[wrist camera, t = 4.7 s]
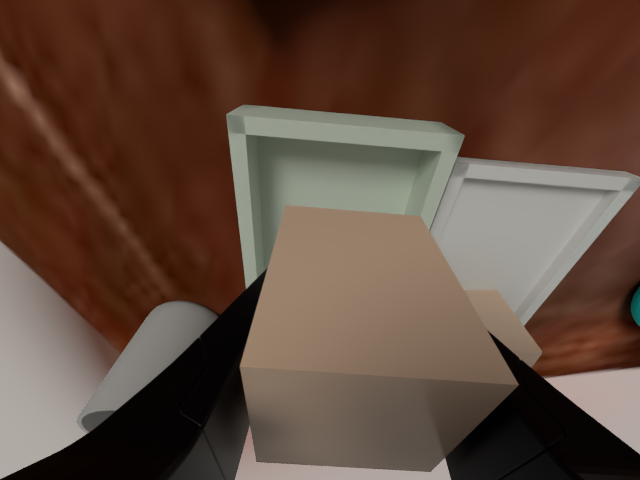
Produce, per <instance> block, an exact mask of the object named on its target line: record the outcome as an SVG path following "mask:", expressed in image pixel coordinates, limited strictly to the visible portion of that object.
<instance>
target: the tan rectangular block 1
mask: <svg viewBox="0 0 640 480" xmlns="http://www.w3.org/2000/svg"><path fill="white" fill-rule="evenodd" d="M240 371H241V376H242V382H243V388H244V393H245V399H246V405H247V410H248V416H249V422H250V427H251V433H252V439H253V444H254V450H255V455H256V461H257V462H267V463H286V464H301V465H319V466H337V467H355V468H372V469H389V470H406V471H424V472H431V471H432V470H433V469H434V467H436V466H437V465H438V464H439V463H440V462H441V461H442V460H443V459H444V458H445V457H446V456H447V455H448V454H449V453H450V452H451V451H452V450H453V449H454V448H455V447H456V446H457V445H458V444H459V443H460V442H461V441H462V440H463V439H464V438H465V437H466V436H467V435H468V434H469V433H471V432H472V431H473V430H474V429H475V428H476V427H477V426H478V425H479V424H480V423H481V422H482V421H483V420H484V419H485V418H486V417H487V416H488V415H489V414H490V413H491V412H492V411H493V410H494V409H495V408H496V407H497V406H498V405H499V404H500V403H501V402H502V401H503V400H504V399H505V398H506V397H507V396H508V395H509V394H510V393H511V392H512V391H513V390H514V389H515V388H516V387H517V386H518V385H519V384H518V382H517V381H516V379H515V377H514V376H513V374H512V372H511V370H510V369H509V367H508V365H507V364H506V362H505V360H504V358H503V357H502V355H501V353H500V352H499V350H498V348H497V346H496V345H495V343H494V341H493V340H492V338H491V336H490V334H489V333H488V331H487V329H486V327H485V326H484V324H483V322H482V321H481V319H480V317H479V315H478V314H477V312H476V310H475V309H474V307H473V305H472V303H471V302H470V300H469V298H468V297H467V295H466V293H465V291H464V290H463V288H462V286H461V285H460V283H459V281H458V279H457V278H456V276H455V274H454V273H453V271H452V269H451V267H450V266H449V264H448V262H447V261H446V259H445V257H444V255H443V254H442V252H441V250H440V249H439V247H438V245H437V243H436V242H435V240H434V238H433V237H432V235H431V233H430V231H429V230H428V228H427V226H426V225H425V223H424V221H423V219H422V218H421V216H414V215H401V214H389V213H377V212H365V211H353V210H340V209H328V208H316V207H304V206H291V205H286V206H285V209H284V213H283V216H282V220H281V223H280V227H279V230H278V234H277V237H276V241H275V244H274V248H273V251H272V255H271V258H270V262H269V265H268V269H267V272H266V276H265V279H264V283H263V286H262V290H261V293H260V297H259V300H258V304H257V308H256V311H255V315H254V318H253V322H252V325H251V329H250V332H249V336H248V339H247V343H246V346H245V350H244V353H243V357H242V360H241V364H240Z"/></svg>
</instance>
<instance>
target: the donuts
mask: <svg viewBox="0 0 640 480" xmlns="http://www.w3.org/2000/svg"><path fill="white" fill-rule="evenodd" d="M631 313H632V316H633V319H634V320H635V322H636V323H637V324H638V325H639V326H640V287H639V288H638V289H637V291H636V292H635V294H634V296H633V298H632V302H631Z"/></svg>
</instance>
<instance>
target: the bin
mask: <svg viewBox="0 0 640 480" xmlns="http://www.w3.org/2000/svg"><path fill="white" fill-rule="evenodd" d="M226 117H227V126H228V135H229V143H230V152H231V161H232V169H233V178H234V187H235V195H236V204H237V213H238V221H239V230H240V239H241V247H242V256H243V265H244V273H245V282H246V289H247V288H248V287H249V286H250V285H251V284H252V283H253V282H254V281H255V280H256V279H257V278H258V277H259V276H260V275H261V274H262V273H263V272H264V271H265V270H266V269H267V268H268V265H269V262H270V258H271V255H272V251H273V248H274V244H275V241H276V237H277V234H278V230H279V227H280V223H281V220H282V216H283V213H284V209H285V206H286V205H291V206H304V207H316V208H328V209H340V210H353V211H365V212H377V213H389V214H401V215H414V216H421V218H422V219H423V221H424V223H425V225H426V226H427V228H428V230H430V227H431V224H432V222H433V219H434V216H435V214H436V211H437V208H438V206H439V203H440V200H441V198H442V195H443V192H444V190H445V187H446V184H447V182H448V179H449V176H450V174H451V171H452V168H453V166H454V163H455V160H456V158H457V155H458V152H459V150H460V147H461V144H462V142H463V139H464V136H465V135H463V134H461V133H459V132H458V131H456V130H454V129H452V128H451V127H449V126H447V125H445V124H444V123H442V122H432V121H421V120H410V119H399V118H387V117H376V116H365V115H354V114H343V113H332V112H321V111H309V110H298V109H287V108H276V107H265V106H254V105H242V106H240V107H238V108H237V109H235V110H233V111H231V112H229V113H228V114H226Z"/></svg>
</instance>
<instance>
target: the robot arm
mask: <svg viewBox="0 0 640 480" xmlns="http://www.w3.org/2000/svg"><path fill="white" fill-rule="evenodd" d="M267 269H268V268H267ZM267 269H266V270H265V271H264V272H263V273H262V274H261V275H260V276H259V277H258V278H257V279H256V280H255V281H254V282H253V283H252V284H251V285H250V286H249V287H248V288H247V289H246V290H245V291H244V292H243V293H242V294H241V295H240V296H239V297H238V298H237V299H236V300H235V301H234V302H233V303H232V304H231V305H230V306H229V307H228V308H227V309H226V310H225V311H224V312H223V313H222V314H221V315H220V316H219V317H218V318H217V319H216V320H215V321H214V322H213V323H212V324H211V325H210V326H209V327H208V328H207V329H206V330H205V331H204V332H203V333H202V334H201V335H200V338H197V339H196V340H195V341H194V342H193V343H192V344H191V345H190V346H189V347H188V348H187V349H186V350H185V351H184V352H183V353H182V354H181V355H180V356H179V357H178V358H176V359H175V360H174V361H173V362H172V363H171V364H170V365H169V366H168V367H167V368H165V369H164V370H163V371H162V372H161V373H160V374H159V375H157V376H156V377H155V378H154V379H153V380H152V381H151V382H149V383H148V384H147V385H146V386H145V387H143V388H142V389H141V390H140V391H139V392H137V393H136V394H135V395H134V396H133V397H132V398H130V399H129V400H128V401H127V402H126V403H124V404H123V405H122V406H121V407H120V408H118V409H117V410H116V411H115V412H114V413H113V414H111V415H110V416H109V417H108V418H107V419H105V420H104V421H103V422H102V423H100V424H99V425H98V426H97V427H95V428H94V429H93V430H92V431H90V432H89V433H87V434H86V435H85V436H83V437H82V438H80V439H79V440H77V441H76V442H74V443H73V444H71V445H69V446H67V447H66V448H64V449H62V450H61V451H59V452H57V453H54V454H52V455H51V456H48V457H46V458H44V459H42V460H40V461H38V462H36V463H34V464H31V465H30V466H27V467H25V468H23V469H21V470H19V471H17V472H15V473H13V474H10V475H8V476H6V477H5V478H2V479H0V480H235V476H236V473H237V469H238V465H239V462H240V458H241V454H242V451H243V447H244V443H245V440H246V436H247V433H248V429H249V425H250V422H249V416H248V410H247V405H246V399H245V393H244V388H243V382H242V376H241V371H240V364H241V360H242V357H243V353H244V350H245V346H246V343H247V339H248V336H249V332H250V329H251V325H252V322H253V318H254V315H255V311H256V308H257V304H258V300H259V297H260V293H261V290H262V286H263V283H264V279H265V276H266V272H267ZM487 331H488V330H487ZM488 333H489V334H490V336H491V338H492V340H493V341H494V343H495V345H496V346H497V348H498V350H499V352H500V353H501V355H502V357H503V358H504V360H505V362H506V364H507V365H508V367H509V369H510V370H511V372H512V374H513V376H514V377H515V379H516V381H517V382H518V384H519V385H518V386H517V387H516V388H515V389H514V390H513V391H512V392H511V393H510V394H509V395H508V396H507V397H506V398H505V399H504V400H503V401H502V402H501V403H500V404H499V405H498V406H497V407H496V408H495V409H494V410H493V411H492V412H491V413H490V414H489V415H488V416H487V417H486V418H485V419H484V420H483V421H482V422H481V423H480V424H479V425H478V426H477V427H476V428H475V429H474V430H473V431H472V432H471V433H469V434H468V435H467V436H466V437H465V438H464V439H463V440H462V441H461V442H460V443H459V444H458V445H457V446H456V447H455V448H454V449H453V450H452V451H451V452H450V453H449V454H448V455H447V456H446V457H445V458H446V462H447V466H448V469H449V473H450V477H451V480H640V454H639V453H637V452H636V451H635V450H633V449H632V448H631V447H629V446H628V445H627V444H626V443H624V442H623V441H622V440H621V439H619V438H618V437H617V436H615V435H614V434H613V433H612V432H610V431H609V430H608V429H606V428H605V427H604V426H602V425H601V424H600V423H598V422H597V421H596V420H595V419H594V418H592V417H591V416H590V415H588V414H587V413H586V412H585V411H583V410H582V409H581V408H579V407H578V406H577V405H575V404H574V403H573V402H572V401H571V400H569V399H568V398H567V397H566V396H564V395H563V394H562V393H561V392H559V391H558V390H557V389H555V388H554V387H553V386H552V385H551V384H550V383H548V382H547V381H546V380H545V379H544V378H542V377H541V376H540V375H539V374H538V373H537V372H535V371H534V370H533V369H532V368H531V367H530V366H528V365H527V364H526V363H525V362H524V361H523V360H520V358H519V357H518V356H517V355H516V354H515V353H513V352H512V351H511V350H510V349H509V348H508V347H506V346H505V345H504V344H503V343H502V342H501V341H500V340H498V339H497V338H496V337H495V336H494V335H493V334H492V333H490V332H489V331H488Z"/></svg>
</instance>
